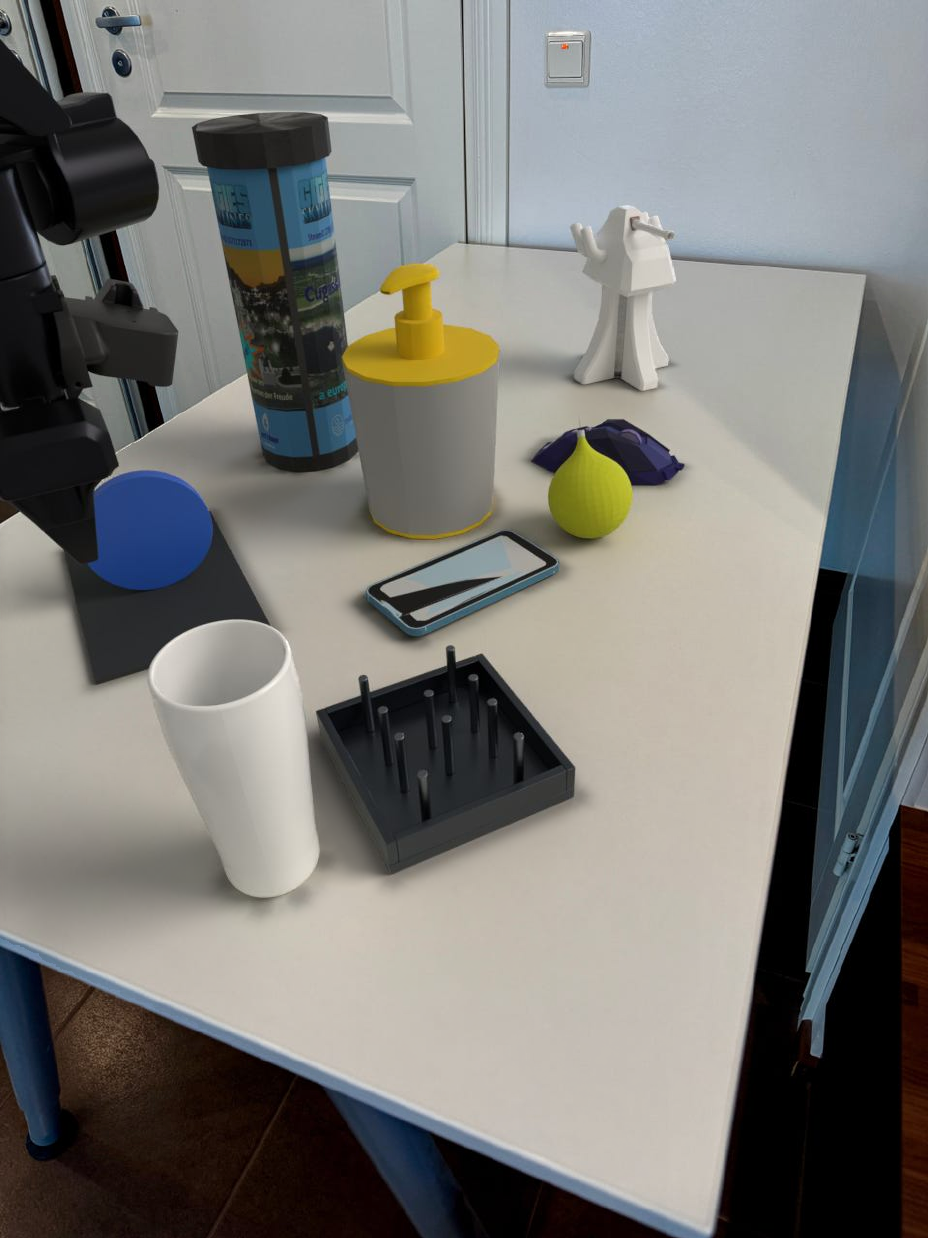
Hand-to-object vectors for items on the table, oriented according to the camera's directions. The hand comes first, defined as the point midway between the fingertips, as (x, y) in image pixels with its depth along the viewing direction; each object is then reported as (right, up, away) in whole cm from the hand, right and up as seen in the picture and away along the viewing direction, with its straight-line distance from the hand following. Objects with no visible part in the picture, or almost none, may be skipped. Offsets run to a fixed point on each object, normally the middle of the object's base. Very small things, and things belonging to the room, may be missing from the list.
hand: (79, 526), depth 55 cm
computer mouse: (+39, +10, +32) cm, 51 cm away
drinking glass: (+13, -20, -5) cm, 24 cm away
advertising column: (+8, +12, +37) cm, 39 cm away
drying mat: (-1, -3, +17) cm, 17 cm away
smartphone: (+24, -3, +16) cm, 29 cm away
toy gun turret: (+43, +23, +49) cm, 70 cm away
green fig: (+35, +2, +22) cm, 41 cm away
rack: (+23, -15, 0) cm, 27 cm away
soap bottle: (+21, +4, +26) cm, 34 cm away
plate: (-1, -3, +17) cm, 17 cm away
